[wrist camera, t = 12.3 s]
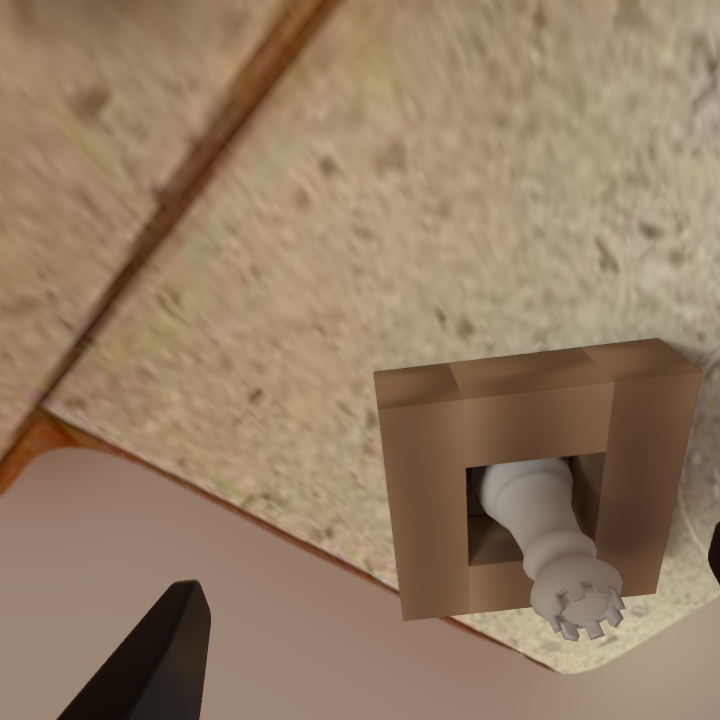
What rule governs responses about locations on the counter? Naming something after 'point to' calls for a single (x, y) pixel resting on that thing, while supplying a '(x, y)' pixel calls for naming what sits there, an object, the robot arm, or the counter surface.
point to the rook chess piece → (552, 544)
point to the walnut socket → (524, 443)
